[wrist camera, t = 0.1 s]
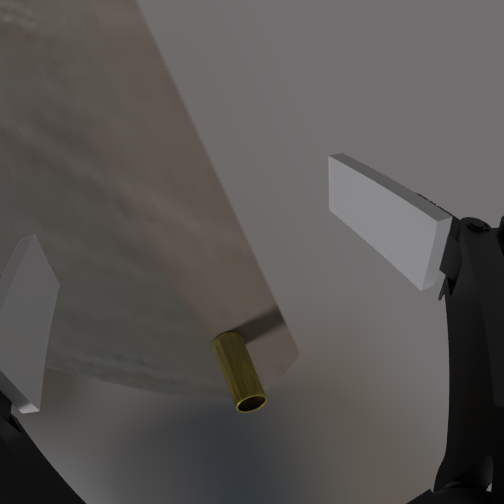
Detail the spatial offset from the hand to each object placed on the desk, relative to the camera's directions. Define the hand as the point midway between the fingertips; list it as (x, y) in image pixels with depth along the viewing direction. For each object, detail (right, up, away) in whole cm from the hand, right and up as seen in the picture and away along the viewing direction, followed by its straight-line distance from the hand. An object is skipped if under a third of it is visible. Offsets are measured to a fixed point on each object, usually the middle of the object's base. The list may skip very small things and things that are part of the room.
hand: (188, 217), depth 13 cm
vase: (-2, -18, +46) cm, 50 cm away
